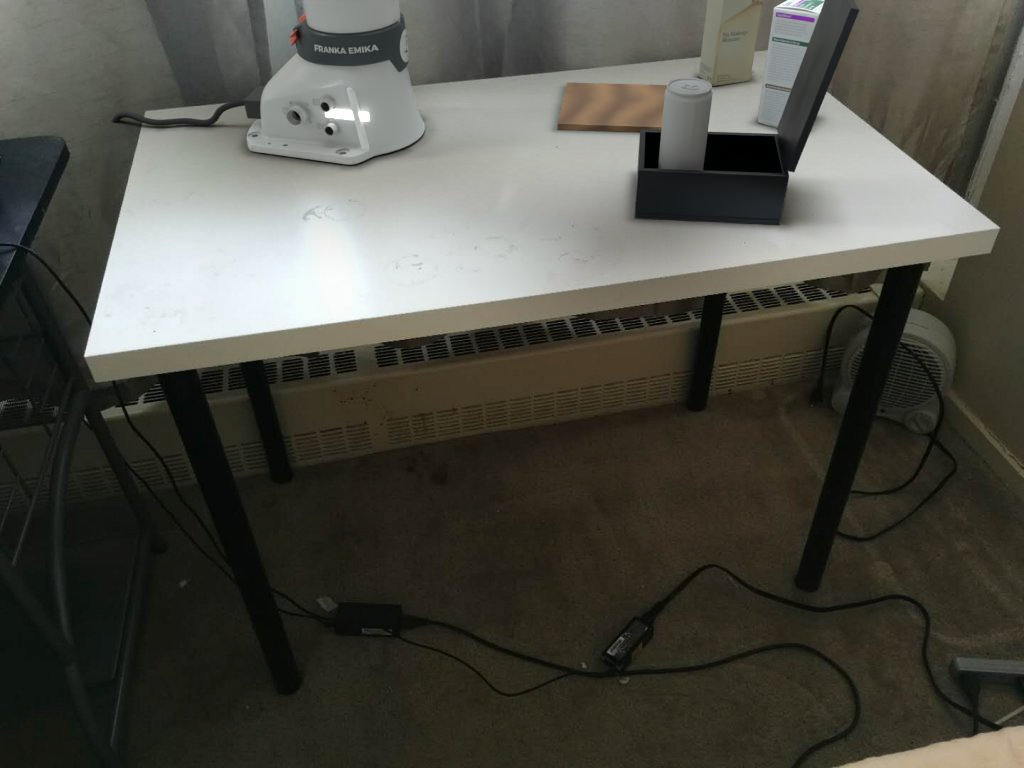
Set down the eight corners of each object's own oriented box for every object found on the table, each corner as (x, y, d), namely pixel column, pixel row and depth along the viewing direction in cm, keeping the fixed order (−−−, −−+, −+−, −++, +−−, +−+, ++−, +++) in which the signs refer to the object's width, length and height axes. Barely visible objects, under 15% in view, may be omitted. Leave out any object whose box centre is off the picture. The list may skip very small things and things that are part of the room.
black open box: (634, 218, 92) (638, 170, 89) (636, 175, 100) (640, 129, 96) (779, 225, 90) (789, 176, 87) (770, 180, 98) (779, 133, 95)
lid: (851, 8, 76) (859, 9, 76) (833, -25, 84) (841, -23, 84) (786, 171, 87) (794, 172, 87) (776, 128, 94) (783, 130, 94)
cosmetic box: (712, 87, 120) (724, -5, 112) (696, 76, 123) (707, -14, 115) (752, 80, 121) (766, -11, 113) (735, 70, 124) (748, -20, 116)
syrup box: (798, 133, 107) (822, 12, 98) (754, 122, 110) (773, 4, 101) (816, 118, 111) (841, -1, 101) (773, 108, 114) (793, -8, 104)
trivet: (557, 129, 110) (557, 123, 110) (566, 87, 121) (566, 82, 120) (667, 133, 108) (668, 127, 108) (667, 90, 119) (668, 84, 119)
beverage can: (662, 179, 98) (672, 74, 90) (704, 186, 96) (718, 80, 88) (650, 198, 94) (660, 91, 86) (694, 206, 93) (707, 97, 85)
